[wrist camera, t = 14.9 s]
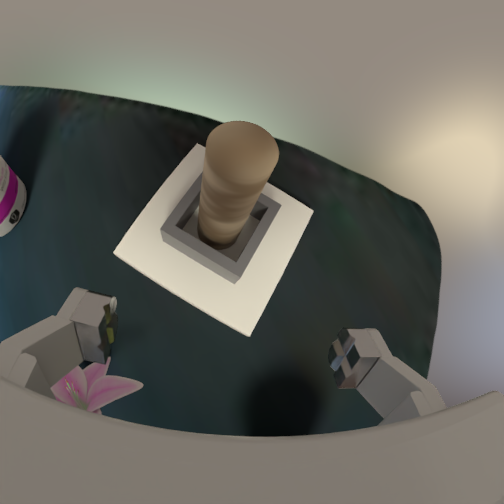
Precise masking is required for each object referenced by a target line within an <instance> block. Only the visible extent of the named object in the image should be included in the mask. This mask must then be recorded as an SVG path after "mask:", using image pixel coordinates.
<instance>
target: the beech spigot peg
mask: <svg viewBox="0 0 504 504" xmlns="http://www.w3.org/2000/svg"><path fill="white" fill-rule="evenodd" d="M278 157H279V150H278V146H277V143H276V141H275V140H274V138H273V137H272V136H271V134H270V133H268V132H267V131H266V130H265V129H263V128H262V127H260V126H258V125H256V124H253V123H250V122H245V121H231V122H226V123H224V124H221V125H219V126H218V127H216V128H215V129H214V130H213V131H212V132H211V133H210V134H209V136H208V139H207V142H206V149H205V157H204V165H203V174H202V183H201V192H200V202H199V213H198V224H197V233H198V236H199V238H200V240H201V241H202V242H203V243H205V244H206V245H208V246H210V247H211V248H213V249H216V250H222V249H226V248H228V247H230V246H232V245H233V244H234V243H235V242H236V240H237V238H238V236H239V234H240V233H241V231H242V229H243V227H244V225H245V223H246V221H247V219H248V217H249V215H250V213H251V211H252V209H253V207H254V205H255V203H256V202H257V200H258V198H259V196H260V194H261V192H262V190H263V188H264V186H265V184H266V182H267V181H268V179H269V177H270V175H271V173H272V171H273V169H274V167H275V165H276V163H277V161H278Z"/></svg>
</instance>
